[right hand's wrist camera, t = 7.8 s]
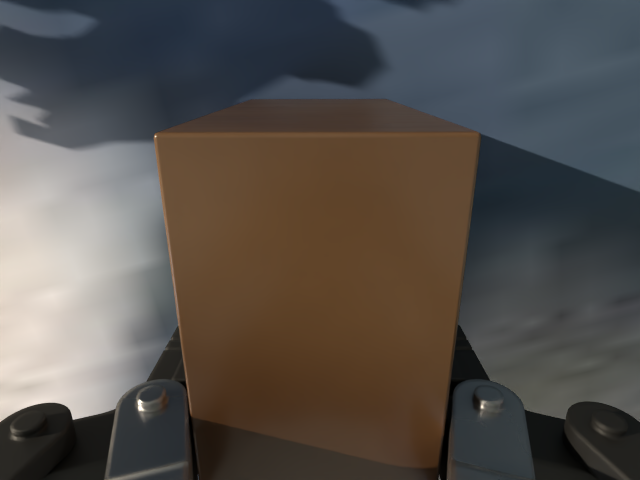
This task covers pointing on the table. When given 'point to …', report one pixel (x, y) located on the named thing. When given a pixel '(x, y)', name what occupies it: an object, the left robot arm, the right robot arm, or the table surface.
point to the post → (318, 284)
